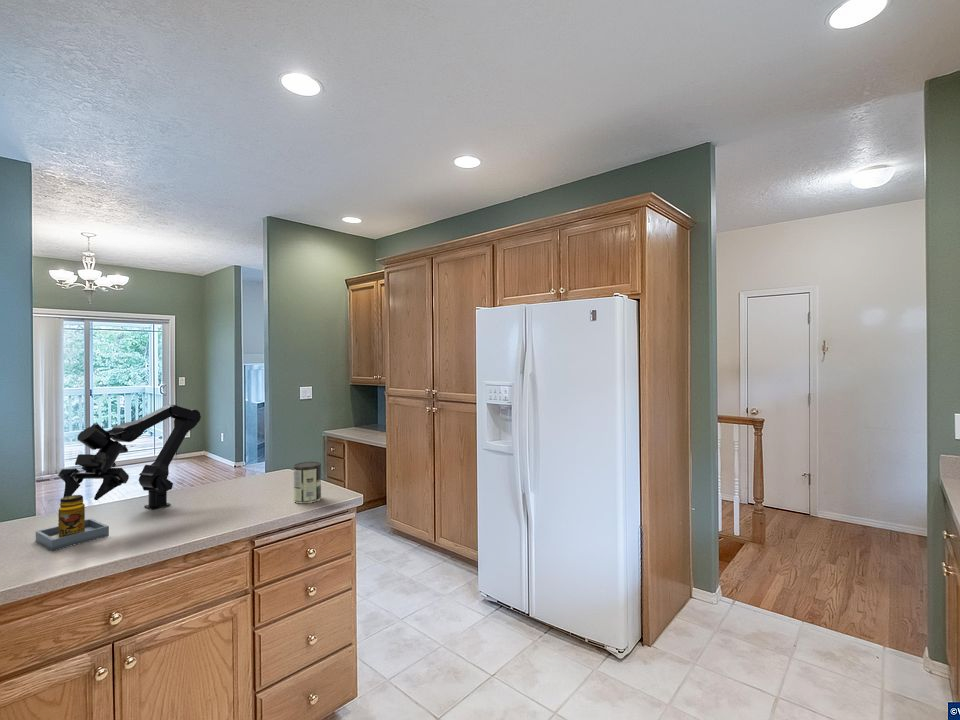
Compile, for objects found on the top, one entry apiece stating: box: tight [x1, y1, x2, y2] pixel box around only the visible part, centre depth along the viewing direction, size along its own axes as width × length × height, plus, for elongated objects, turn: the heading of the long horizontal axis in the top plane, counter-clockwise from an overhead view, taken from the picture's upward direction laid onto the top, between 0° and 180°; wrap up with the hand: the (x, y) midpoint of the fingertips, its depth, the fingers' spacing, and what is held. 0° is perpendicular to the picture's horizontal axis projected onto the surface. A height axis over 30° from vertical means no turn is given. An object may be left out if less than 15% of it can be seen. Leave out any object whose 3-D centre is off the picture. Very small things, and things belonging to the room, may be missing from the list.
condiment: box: [51, 494, 86, 539], centre depth 142 cm, size 7×8×12 cm
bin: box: [35, 518, 110, 552], centre depth 142 cm, size 14×14×3 cm
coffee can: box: [292, 461, 322, 504], centre depth 182 cm, size 10×10×14 cm
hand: (79, 499), depth 145 cm, fingers open, 9 cm apart
